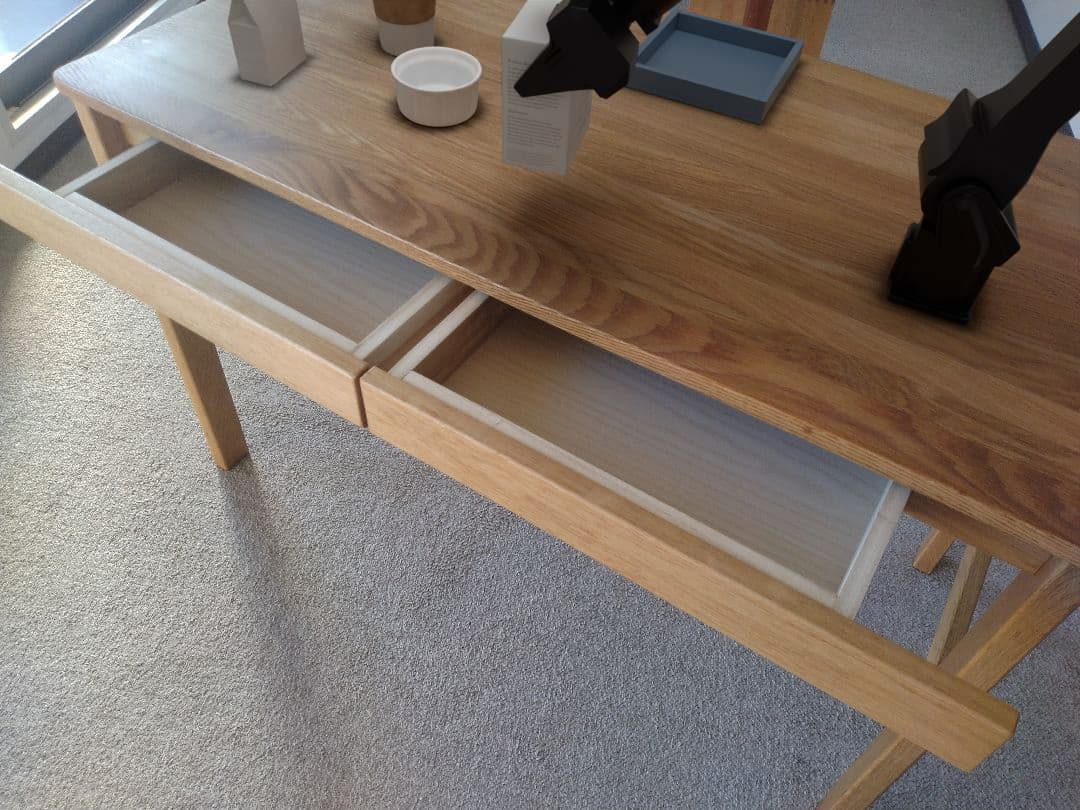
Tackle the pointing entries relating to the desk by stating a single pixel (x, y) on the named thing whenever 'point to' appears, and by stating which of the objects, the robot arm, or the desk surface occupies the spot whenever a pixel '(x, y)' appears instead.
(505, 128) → the small box
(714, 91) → the tray
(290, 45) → the grey carton
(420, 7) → the coffee cup
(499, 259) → the desk surface
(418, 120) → the ramekin
